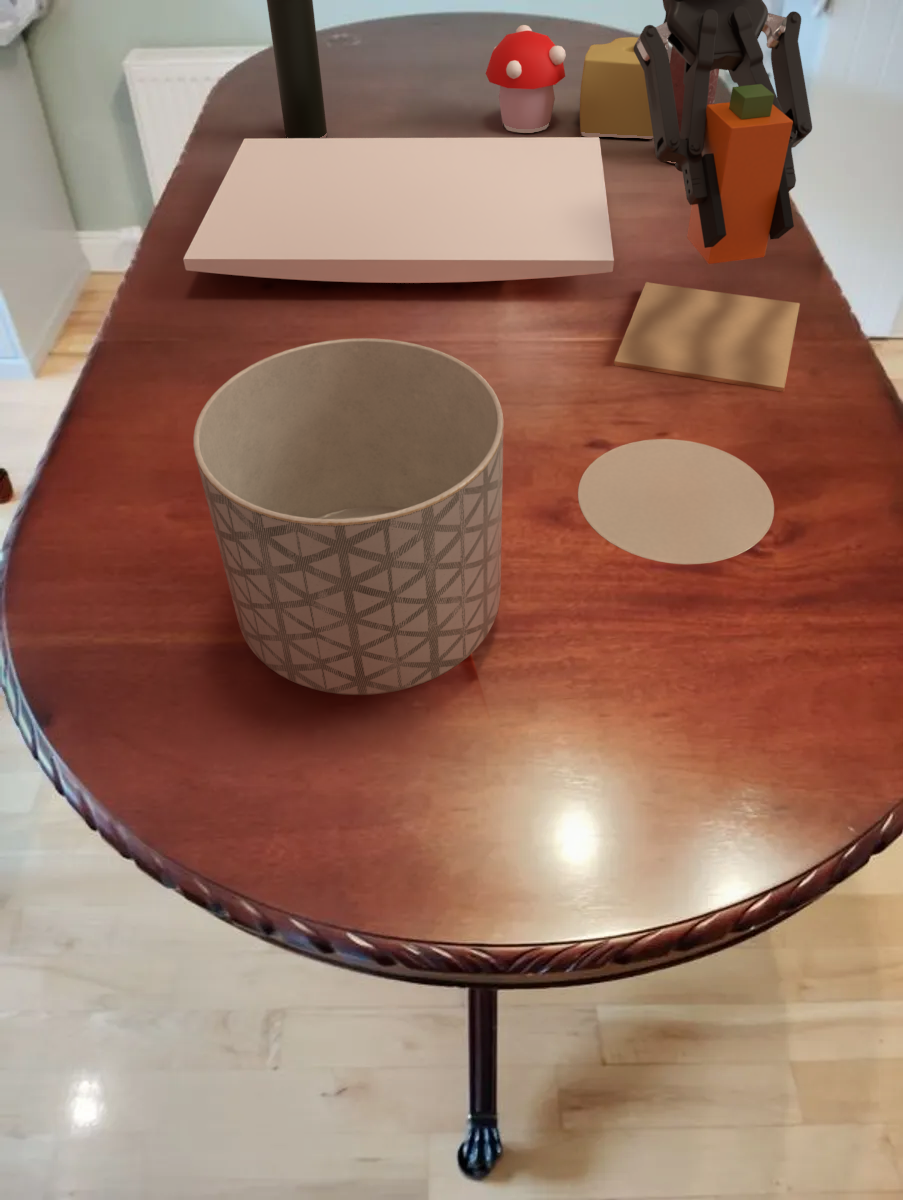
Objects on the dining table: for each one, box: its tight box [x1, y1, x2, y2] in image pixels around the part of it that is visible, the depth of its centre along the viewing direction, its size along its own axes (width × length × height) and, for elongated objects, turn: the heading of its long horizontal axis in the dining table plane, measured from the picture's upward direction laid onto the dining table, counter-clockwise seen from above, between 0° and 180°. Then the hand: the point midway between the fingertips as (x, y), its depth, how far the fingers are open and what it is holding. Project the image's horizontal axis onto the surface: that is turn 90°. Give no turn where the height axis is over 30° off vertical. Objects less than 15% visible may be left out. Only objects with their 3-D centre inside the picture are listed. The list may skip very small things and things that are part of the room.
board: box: [182, 136, 615, 284], centre depth 117 cm, size 45×32×5 cm
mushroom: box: [485, 24, 567, 129], centre depth 136 cm, size 11×11×12 cm
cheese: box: [579, 36, 653, 136], centre depth 135 cm, size 10×11×10 cm
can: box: [668, 45, 720, 162], centre depth 126 cm, size 6×6×14 cm
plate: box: [577, 438, 775, 565], centre depth 83 cm, size 16×16×1 cm
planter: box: [193, 337, 505, 696], centre depth 68 cm, size 19×19×18 cm
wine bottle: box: [266, 0, 328, 138], centre depth 128 cm, size 6×6×30 cm
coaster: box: [613, 281, 801, 393], centre depth 100 cm, size 16×16×1 cm
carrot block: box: [686, 84, 793, 265], centre depth 81 cm, size 5×5×13 cm
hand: (748, 236), depth 81 cm, fingers closed on carrot block, 5 cm apart
